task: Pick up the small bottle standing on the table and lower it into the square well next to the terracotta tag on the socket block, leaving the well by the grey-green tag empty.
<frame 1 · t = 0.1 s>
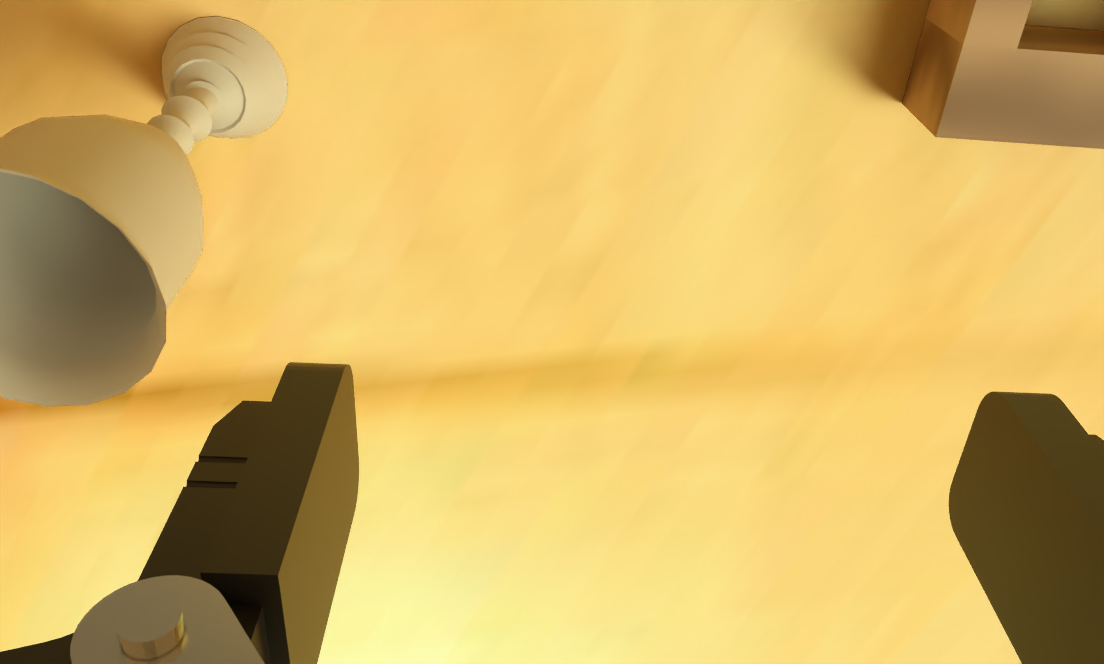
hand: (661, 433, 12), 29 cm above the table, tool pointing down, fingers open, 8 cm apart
chalice: (226, 78, 39), on the table
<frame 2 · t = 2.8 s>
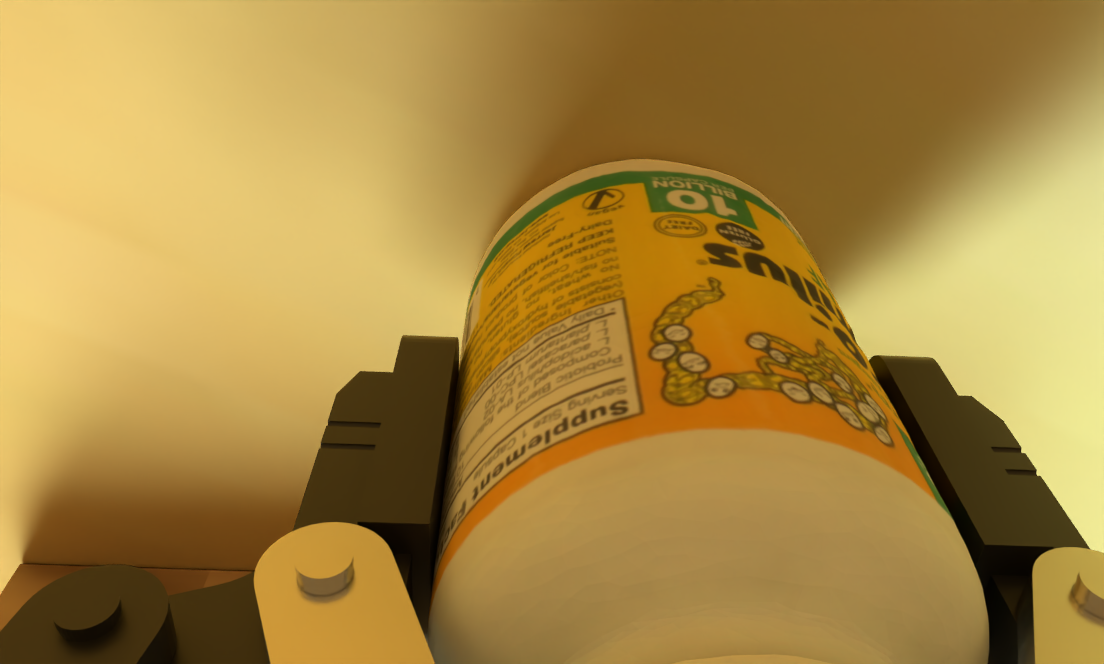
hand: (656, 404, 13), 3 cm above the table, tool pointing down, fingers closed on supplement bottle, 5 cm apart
supplement bottle: (640, 303, 15), on the table, touching gripper
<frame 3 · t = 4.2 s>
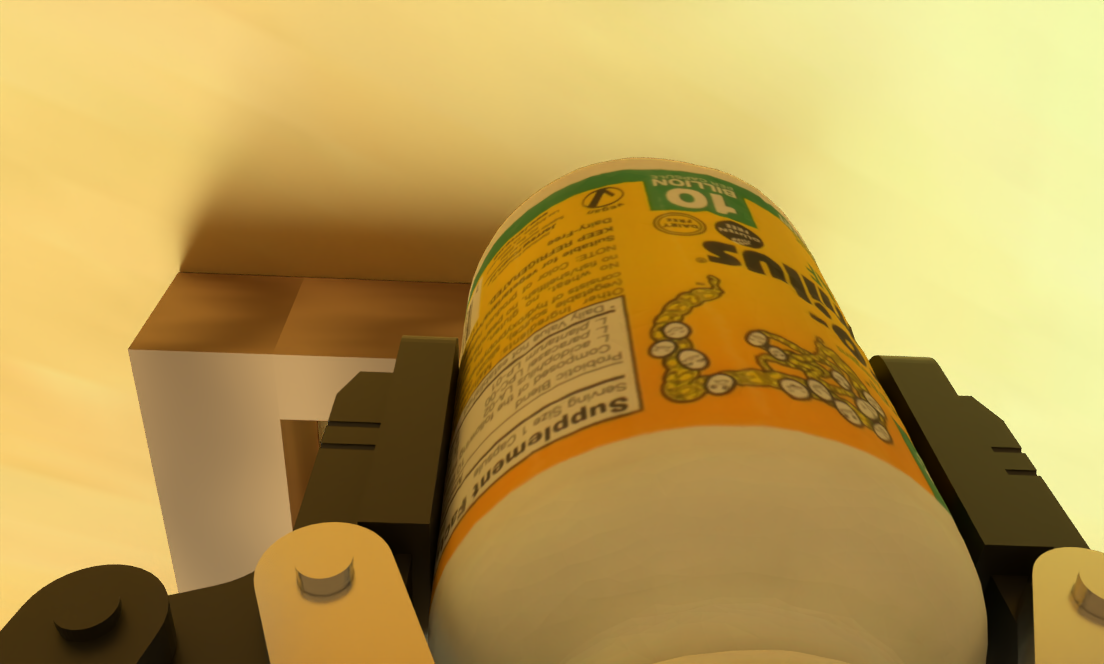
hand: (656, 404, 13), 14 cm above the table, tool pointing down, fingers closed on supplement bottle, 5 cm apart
supplement bottle: (640, 302, 15), point 11 cm above the table, touching gripper
socket block: (431, 540, 32), on the table
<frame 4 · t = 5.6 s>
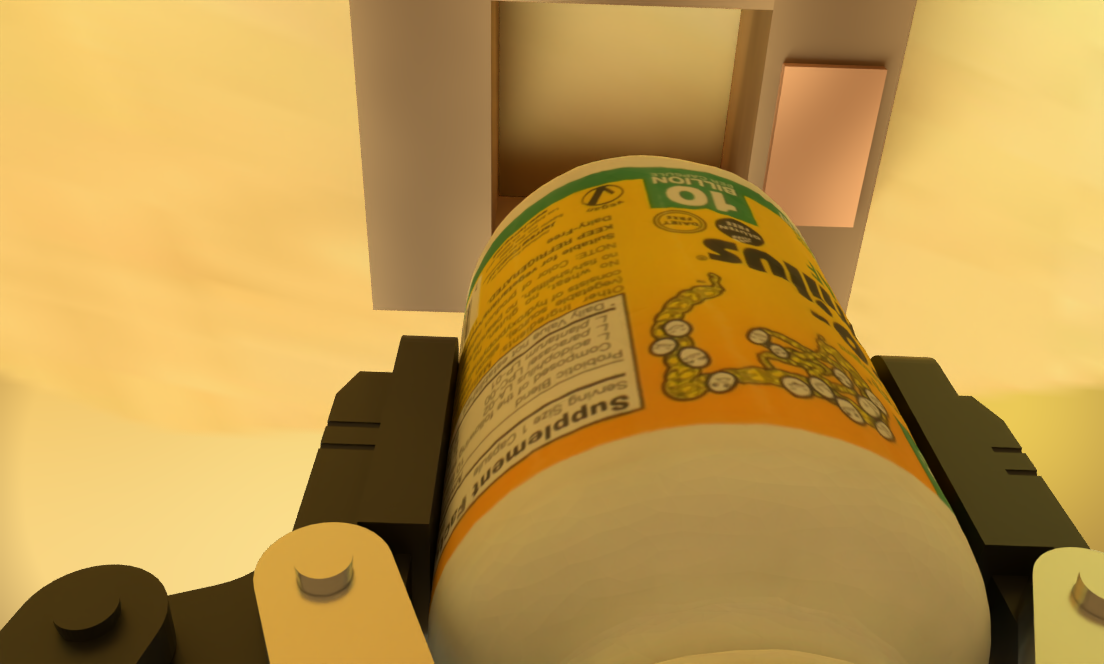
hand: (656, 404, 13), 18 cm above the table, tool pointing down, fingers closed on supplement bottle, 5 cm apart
supplement bottle: (639, 300, 15), point 15 cm above the table, touching gripper
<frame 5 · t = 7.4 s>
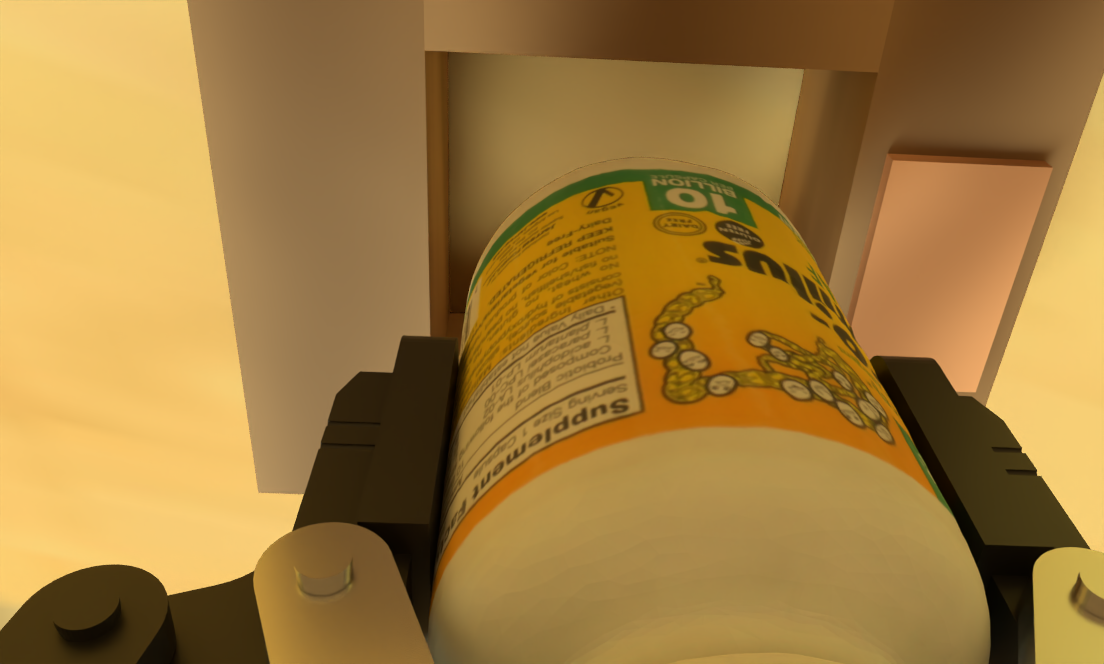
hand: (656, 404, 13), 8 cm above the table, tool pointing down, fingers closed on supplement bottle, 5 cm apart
supplement bottle: (639, 302, 15), point 6 cm above the table, touching gripper
when the fingers open (5 cm above the table, at t = 8.6 s): supplement bottle drops 2 cm, resting in socket block.
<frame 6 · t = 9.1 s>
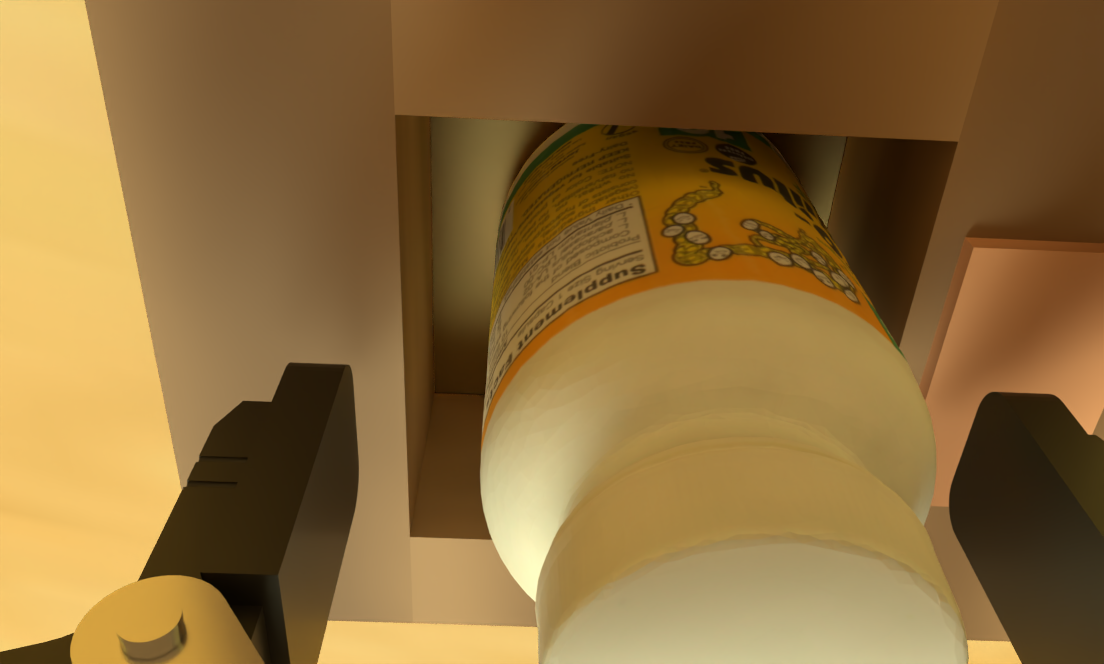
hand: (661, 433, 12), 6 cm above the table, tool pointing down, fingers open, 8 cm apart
supplement bottle: (649, 230, 17), resting in socket block
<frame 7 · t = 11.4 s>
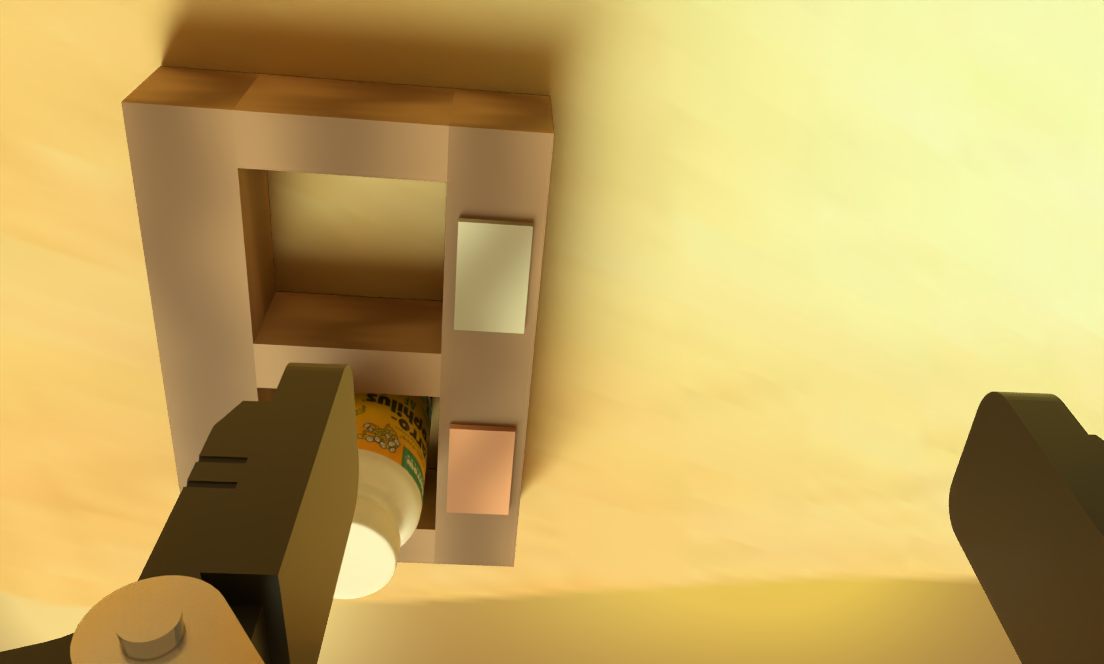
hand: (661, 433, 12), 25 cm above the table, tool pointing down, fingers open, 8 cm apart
supplement bottle: (373, 400, 42), resting in socket block
socket block: (362, 317, 40), on the table
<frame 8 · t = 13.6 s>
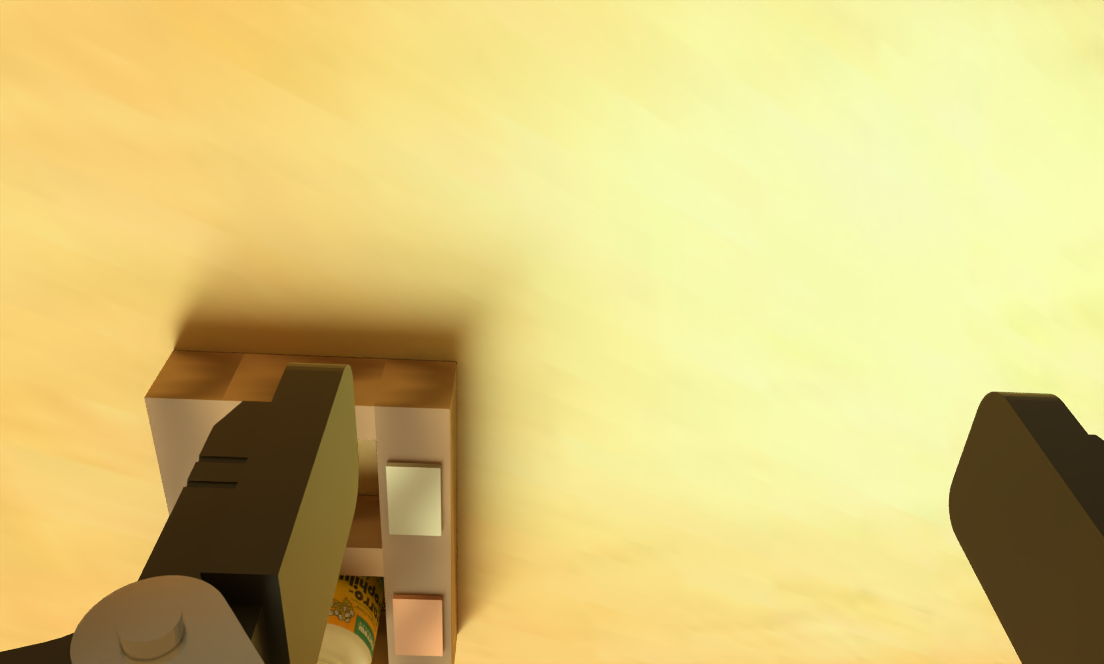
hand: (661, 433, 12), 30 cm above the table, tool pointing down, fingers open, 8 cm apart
supplement bottle: (342, 562, 55), resting in socket block
socket block: (329, 507, 53), on the table
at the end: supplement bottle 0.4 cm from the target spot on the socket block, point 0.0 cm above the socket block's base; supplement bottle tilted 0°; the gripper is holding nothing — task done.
